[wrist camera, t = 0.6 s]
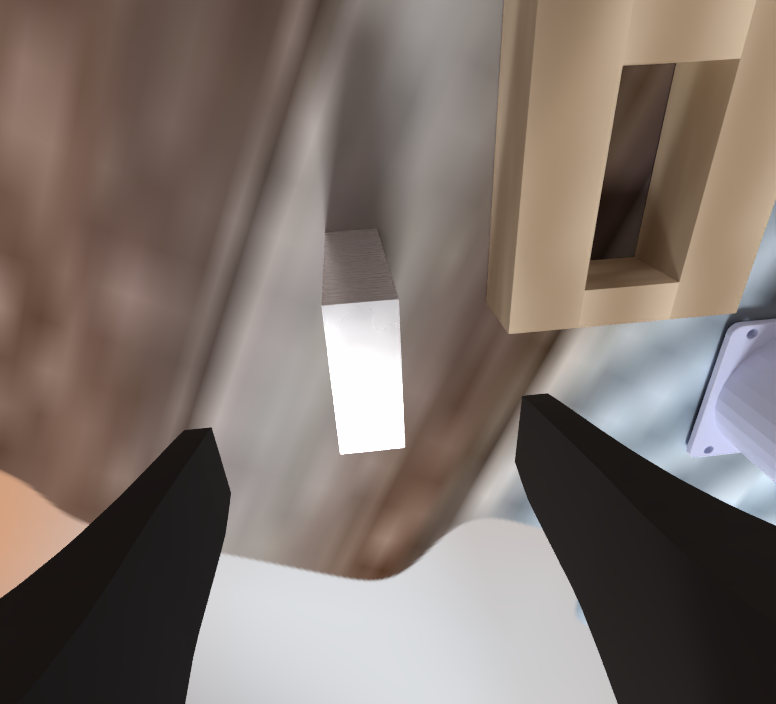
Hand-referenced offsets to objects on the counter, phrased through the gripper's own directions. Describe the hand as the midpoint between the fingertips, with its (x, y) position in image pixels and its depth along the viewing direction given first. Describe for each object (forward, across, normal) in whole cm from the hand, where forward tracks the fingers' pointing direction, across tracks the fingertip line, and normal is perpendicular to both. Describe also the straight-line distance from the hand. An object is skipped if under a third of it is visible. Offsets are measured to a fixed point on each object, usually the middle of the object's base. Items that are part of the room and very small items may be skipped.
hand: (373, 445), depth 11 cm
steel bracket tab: (+10, 0, 0) cm, 10 cm away
